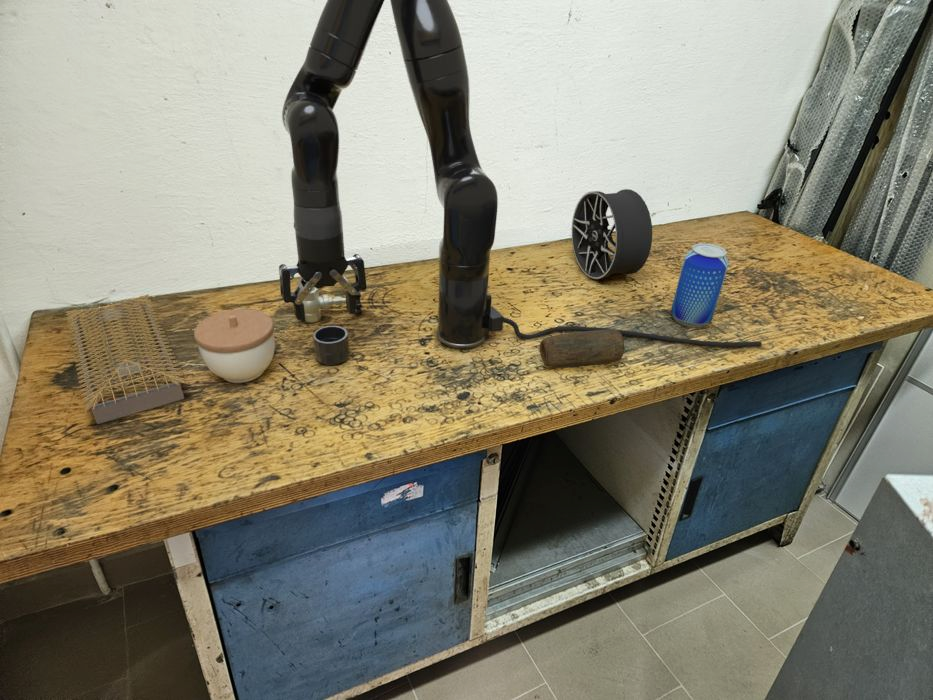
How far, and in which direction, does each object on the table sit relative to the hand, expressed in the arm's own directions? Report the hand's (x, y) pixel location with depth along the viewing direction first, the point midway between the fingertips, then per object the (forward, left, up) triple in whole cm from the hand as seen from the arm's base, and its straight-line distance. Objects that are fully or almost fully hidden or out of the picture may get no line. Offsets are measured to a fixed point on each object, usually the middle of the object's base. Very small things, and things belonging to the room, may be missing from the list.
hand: (326, 316), depth 104 cm
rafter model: (+33, -13, -9) cm, 37 cm away
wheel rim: (-70, -10, -9) cm, 71 cm away
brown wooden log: (-41, +20, -9) cm, 47 cm away
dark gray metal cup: (0, 0, -9) cm, 9 cm away
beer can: (-73, +16, -9) cm, 76 cm away
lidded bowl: (+15, -2, -9) cm, 18 cm away
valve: (-4, -15, -9) cm, 18 cm away
